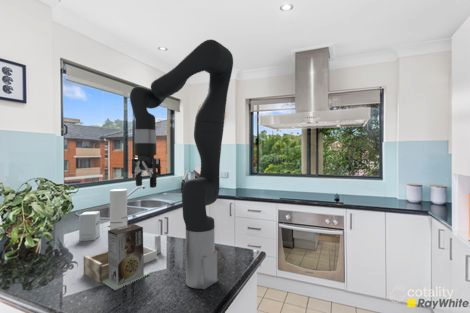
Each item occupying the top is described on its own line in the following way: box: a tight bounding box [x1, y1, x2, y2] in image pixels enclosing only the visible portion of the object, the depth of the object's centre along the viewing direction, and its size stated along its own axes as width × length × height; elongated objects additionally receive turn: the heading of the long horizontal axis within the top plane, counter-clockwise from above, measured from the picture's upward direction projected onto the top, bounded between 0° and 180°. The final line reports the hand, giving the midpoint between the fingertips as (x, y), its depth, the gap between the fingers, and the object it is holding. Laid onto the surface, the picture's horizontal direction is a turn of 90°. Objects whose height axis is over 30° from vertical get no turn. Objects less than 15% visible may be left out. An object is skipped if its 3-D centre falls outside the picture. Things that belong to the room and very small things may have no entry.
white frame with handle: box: [143, 234, 162, 264], centre depth 98 cm, size 9×17×7 cm, turn 143°
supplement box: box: [78, 210, 101, 242], centre depth 123 cm, size 7×7×13 cm
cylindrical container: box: [109, 188, 128, 230], centre depth 114 cm, size 7×7×25 cm
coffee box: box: [107, 223, 145, 285], centre depth 82 cm, size 9×6×16 cm
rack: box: [83, 250, 109, 284], centre depth 88 cm, size 12×14×6 cm
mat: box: [102, 270, 151, 291], centre depth 82 cm, size 8×12×1 cm, turn 143°
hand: (145, 186), depth 91 cm, fingers open, 8 cm apart
